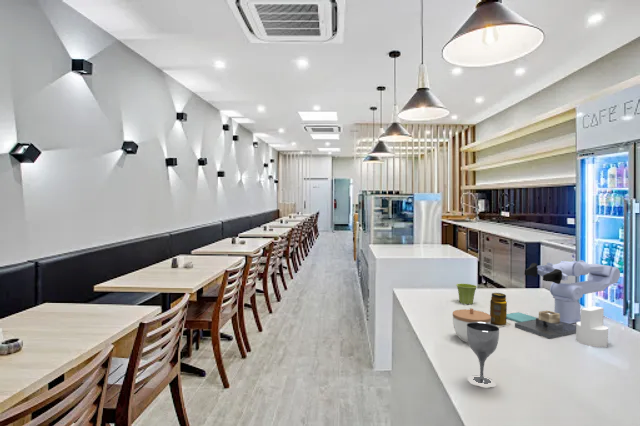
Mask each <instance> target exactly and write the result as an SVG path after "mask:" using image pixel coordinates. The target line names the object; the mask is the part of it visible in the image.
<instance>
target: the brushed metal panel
mask: <svg viewBox="0 0 640 426" xmlns="http://www.w3.org/2000/svg"><path fill="white" fill-rule="evenodd" d="M548 314H552V313H548ZM514 328H516V329H520V330H522V331H525V332H527V333H531V334H532V335H533V334H534V335H537V336H538V337H539V336H540V337H542V338H546V339H549V340H550V339H551V340H552V339H555V338H561V337H566V336H572V335H576V325H575V324H573V323H572V324H569V323H565V322H562V321H560V322H555V323H549V322H546V321H542V320H539V317H536V320H532V321H526V322H520V323H518V322H514Z"/></svg>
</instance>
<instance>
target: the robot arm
mask: <svg viewBox="0 0 640 426" xmlns="http://www.w3.org/2000/svg"><path fill="white" fill-rule="evenodd" d="M524 275H525V276H532V277H535V278H537V276H538V275H539V276H541V277H542V281H544V282H549V283H550V282H551V284H550V286H549V293H550V294H551V296H552V298H553V299H554V311H553V312H555V313H559V314H560V321H562V322H565V323H569V324H572V325H573V324H576V323H577V322H581V304H580V302H579V301H578V300H580V299H581V298H583V297H584V295H588V294H593V293H598V292H602V291H604V290H605V289H607V288H608V287H609V286H611V285H613V284H617V283H618V281H619V279H620V277H621V271H620V269H619V267H617V266H611V265H606V264H599V263H588V262H586V261H585V260H582V259H579V260H578V261H577V260H572V261H568V260H561V261H560V262H559V263H553V262H547V263H546V264H543V265H542V264H541V265H538V263H536V262H532V263H531V264H530V265H529V267H528V268H526V269H524ZM586 275H587V280H585V281H578V282H571V283H570V282H569V283H568V282H561V281H568V279H569V277H571V276H572V277H577V278H579V277H580V276H586Z"/></svg>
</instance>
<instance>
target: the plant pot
mask: <svg viewBox="0 0 640 426" xmlns="http://www.w3.org/2000/svg"><path fill="white" fill-rule="evenodd" d="M455 286H456V289H457V292H458V299H459V301H458V302H459V303H460V304H462V305H463V304H464V305H473V303H474V298H475V295H476V294H475V293H476V290H477V289H476V288H478V286H477V285H475V284H472V283H471V284H469V283H457V284H455Z"/></svg>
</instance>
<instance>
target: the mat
mask: <svg viewBox="0 0 640 426" xmlns="http://www.w3.org/2000/svg"><path fill="white" fill-rule="evenodd" d="M506 317H507V318H506V320H509V321H512V322H514V323H520V322H526V321H532V320H536V318H537V317H536V316H532V315H528V314H527V313H522V312H520V311H518V312H513V313H507V316H506Z"/></svg>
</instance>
